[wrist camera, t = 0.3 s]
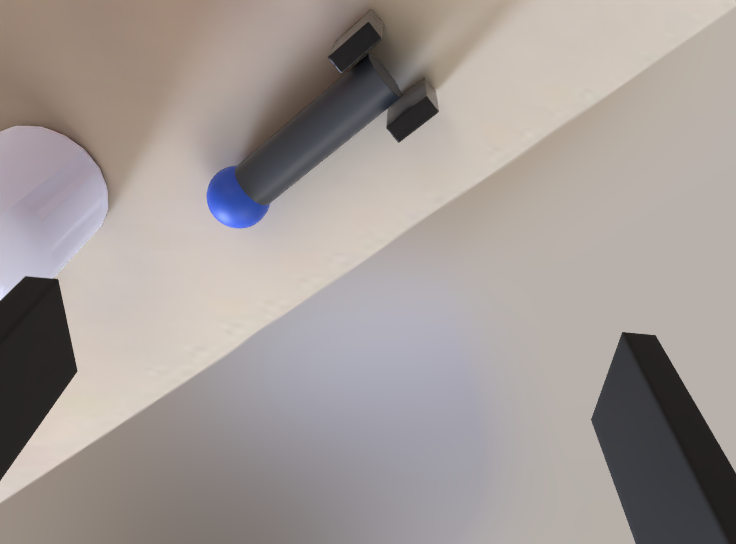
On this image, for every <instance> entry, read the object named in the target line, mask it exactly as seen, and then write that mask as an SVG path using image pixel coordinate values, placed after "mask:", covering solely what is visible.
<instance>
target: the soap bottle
mask: <svg viewBox="0 0 736 544" xmlns="http://www.w3.org/2000/svg"><path fill="white" fill-rule="evenodd" d="M107 211H108V188H107V185H106V183H105V180H104V178H103V175H102V173H101V170H100V168H99V167H98V166H97V164H96V163H95V162H94V161H93V159H92V158H91V157H90V156H89V154H88V153H87V152H86V151H85V149H83V148H82V147H80V146H79V145H78V144H76V143H75V142H74V141H72V140H71V139H69V138H68V137H67V136H65V135H63V134H60V133H58V132H55V131H52V130H49V129H47V128H44V127H41V126H14V127H11V128H8V129H5V130H3V131H0V300H1V299H2V298H3V297H4V296H6V295H7V294H8V293H9V292H10V291H11V290H12V289H13V288H14V287H15V286H16V285H17V284H18V283H19V282H20V281H21V280H22V279H23V278H24V277H25V276H29V277H40V278H51V279H53V278H54V277H55V276H56V275H57V274H58V273H59V272H60V271H61V269H62V268H63V267H64V266H65V265H66V264H67V263H68V262H69V261H70V260H71V259H72V257H73V256H74V255H75V254H76V253H77V252H78V251H79V250H80V249H81V248H82V247H83V246H84V244H85V243H86V242H87V241H88V240H89V239H90V238H91V237H92V236H93V235H94V234H95V232H96V231H97V230H98V229H99V228H100V227H101V226H102V223H103V221H104V218H105V216H106V214H107Z"/></svg>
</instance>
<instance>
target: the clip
mask: <svg viewBox="0 0 736 544" xmlns="http://www.w3.org/2000/svg"><path fill="white" fill-rule="evenodd" d="M383 29H384V24H383V22H382V21H381V20H380V18H379V17H378V16H377V15H376V13H375V12H374V11H373V10H370V11H369V12H368V13H367V14H366V15H365V16H364V17H362V18H361V19H360V20H359V21H358V22H357V23H356V24H355V25H353V26H352V27H351V28H350V29H349V30H348V31H347V32H346V33H345V34H343V35H342V36H341V37H340V38H339V39H338V40H337V41H336V42H335V44H334V46H333V48H332V50H331V52H330V55H329V57H328V58H329V59H330V61H331V62H332V63H333V64H334V66H335V67H336V68H337V69H338V70H339V72H340V73H343V72H345V71H346V70H347V69H348V68H349V67H350V66H352V65H353V64H354V63H355V62H356V61H357V60H359V59H360V58H361V57H362V56H363V55H364V54H366V53H367V52H368V51H369V50H370V49H371V48H373V47H374V46H375V45H376V44H377V43H378V42H379V41H381V40H382V35H383ZM438 112H439V110H438V103H437V97H436V91H435V90H434V88H433V87H432V86H431V85H430V83H429V82H428V81H427V79H426V78H425V77H424V78H423V79H422V80H420V81H419V82H418V83H417V84H415V85H414V86H413V87H412V88H410V89H409V90H408V91H407V92H405V93H404V94H403V95H402V96H401V98H400V99H398V100H397V101H396V102H395V103H393V104H392V105H391V106H390V107H389V108H388V115H387V127H386V128H387V129H388V131H389V132H390V133H391V134H392V135H393V137H394V138H395V139H396V140H397V142H401V141H402V140H403V139H404V138H406V137H407V136H408V135H410V134H411V133H412V132H414V131H415V130H416V129H417V128H419V127H420V126H421V125H423V124H424V123H425V122H426V121H428V120H429V119H430V118H432V117H433V116H434V115H436V114H437V113H438Z"/></svg>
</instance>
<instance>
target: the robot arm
mask: <svg viewBox="0 0 736 544" xmlns="http://www.w3.org/2000/svg"><path fill="white" fill-rule="evenodd" d="M76 372H77V367H76V362H75V357H74V353H73V348H72V343H71V338H70V333H69V329H68V324H67V319H66V314H65V310H64V305H63V300H62V295H61V291H60V286H59V281H58V279H51V278H40V277H29V276H25V277H24V278H23V279H22V280H21V281H20V282H19V283H18V284H17V285H16V286H15V287H14V288H13V289H12V290H11V291H10V292H9V293H8V294H7V295H6V296H4V297H3V298H2V299H1V300H0V480H1V479H2V477H3V476H4V475H5V473H6V472H7V470H8V469H9V468H10V466H11V465H12V463H13V462H14V460H15V459H16V458H17V456H18V455H19V453H20V452H21V451H22V449H23V448H24V446H25V445H26V443H27V442H28V441H29V439H30V438H31V436H32V435H33V433H34V432H35V431H36V429H37V428H38V426H39V425H40V424H41V422H42V421H43V419H44V418H45V416H46V415H47V414H48V412H49V411H50V409H51V408H52V407H53V405H54V404H55V402H56V401H57V399H58V398H59V397H60V395H61V394H62V392H63V391H64V389H65V388H66V387H67V385H68V384H69V382H70V381H71V380H72V378H73V377H74V375H75V374H76ZM591 421H592V424H593V426H594V429H595V432H596V435H597V437H598V440H599V443H600V446H601V448H602V451H603V454H604V457H605V460H606V462H607V465H608V468H609V471H610V473H611V476H612V479H613V482H614V485H615V487H616V490H617V493H618V495H619V498H620V501H621V504H622V507H623V509H624V512H625V515H626V518H627V520H628V523H629V526H630V529H631V531H632V534H633V537H634V540H635V543H636V544H736V473H735V471H734V469H733V468H732V466H731V464H730V463H729V461H728V459H727V457H726V456H725V454H724V452H723V451H722V449H721V447H720V445H719V444H718V442H717V440H716V439H715V437H714V435H713V433H712V432H711V430H710V428H709V426H708V425H707V423H706V422H705V420H704V418H703V416H702V414H701V413H700V411H699V409H698V408H697V406H696V404H695V402H694V401H693V399H692V397H691V396H690V394H689V392H688V390H687V389H686V387H685V386H684V384H683V382H682V380H681V379H680V377H679V375H678V373H677V372H676V370H675V368H674V366H673V365H672V363H671V361H670V360H669V358H668V356H667V354H666V353H665V351H664V349H663V348H662V346H661V344H660V342H659V341H658V339H657V337H656V336H655V335H646V334H636V333H625V332H622V335H621V337H620V340H619V343H618V346H617V349H616V352H615V354H614V357H613V360H612V363H611V365H610V368H609V371H608V374H607V377H606V380H605V382H604V385H603V388H602V391H601V394H600V397H599V399H598V402H597V405H596V408H595V410H594V413H593V416H592V419H591Z"/></svg>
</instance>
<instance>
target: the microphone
mask: <svg viewBox="0 0 736 544" xmlns="http://www.w3.org/2000/svg"><path fill="white" fill-rule="evenodd" d="M400 98H401V92H400V90H399V88H398V86H397V84H396V82H395V81H394V79H393V78H392V76H391V75H390V74H389V72H388V71H387V70H386V68H385V67H384V66H383V65H382V64H381V63H380V61H379V60H378V59H377V58H375V57H374V56H373V55H372V54H367V55H366V56H365V57H364V58H363V59H362V60H360V61H359V62H358V63H357V64H356V65H355V66H353V67H352V68H351V69H350V70H349V71H348V72H346V73H345V74H344V75H343V76H342V77H341V78H339V79H338V80H337V81H336V82H335V83H334V84H332V85H331V86H330V87H329V88H328V89H327V90H325V91H324V92H323V93H322V94H321V95H320V96H318V97H317V98H316V99H315V100H314V101H313V102H311V103H310V104H309V105H308V106H307V107H306V108H305V109H303V110H302V111H301V112H300V113H299V114H298V115H296V116H295V117H294V118H293V119H292V120H291V121H289V122H288V123H287V124H286V125H285V126H284V127H282V128H281V129H280V130H279V131H278V132H277V133H275V134H274V135H273V136H272V137H271V138H270V139H268V140H267V141H266V142H265V143H264V144H263V145H261V146H260V147H259V148H258V149H257V150H256V151H254V152H253V153H252V154H251V155H250V156H249V157H247V158H246V159H245V160H244V161H243V162H242V163H240V164H239V165H238V166H231V167H227V168H225V169H223V170H221V171H220V172H218V173H217V174H216V175H215V176H214V177H213V179H212V180H211V182H210V184H209V186H208V190H207V203H208V206H209V209H210V211H211V213H212V214H213V216H214V217H215V218H216V219H217V220H218V221H219V222H221V223H222V224H224V225H226V226H229V227H232V228H246V227H250V226H252V225H254V224H256V223H257V222H259V221H260V220H261V219H262V218H263V217H264V215H265V214H266V212H267V210H268V208H269V204H270V202H272V201H273V200H274V199H275V198H277V197H278V196H279V195H280V194H282V193H283V192H284V191H285V190H287V189H288V188H289V187H290V186H292V185H293V184H294V183H295V182H297V181H298V180H299V179H300V178H302V177H303V176H304V175H305V174H307V173H308V172H309V171H310V170H311V169H313V168H314V167H315V166H316V165H318V164H319V163H320V162H321V161H323V160H324V159H325V158H326V157H328V156H329V155H330V154H331V153H333V152H334V151H335V150H336V149H338V148H339V147H340V146H341V145H343V144H344V143H345V142H346V141H348V140H349V139H350V138H351V137H352V136H354V135H355V134H356V133H357V132H359V131H360V130H361V129H362V128H364V127H365V126H366V125H367V124H369V123H370V122H371V121H372V120H374V119H375V118H376V117H377V116H379V115H380V114H381V113H382V112H384V111H385V110H386V109H387V108H389V107H390V106H391V105H392V104H393V103H395V102H396V101H397V100H398V99H400Z"/></svg>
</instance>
